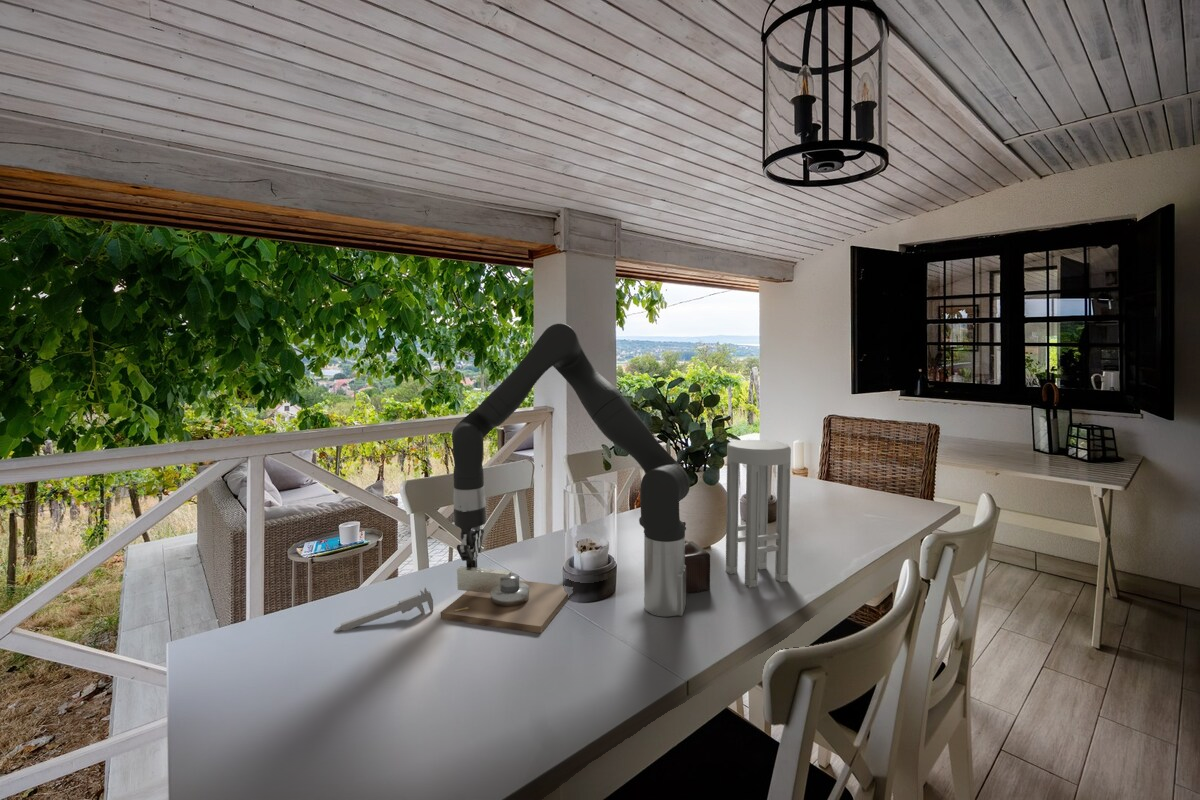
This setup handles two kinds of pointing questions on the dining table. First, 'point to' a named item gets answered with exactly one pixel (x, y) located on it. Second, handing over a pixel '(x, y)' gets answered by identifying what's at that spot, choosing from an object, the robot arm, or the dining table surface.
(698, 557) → the dark brown wooden box
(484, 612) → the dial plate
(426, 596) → the caliper
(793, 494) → the dining table surface
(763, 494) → the stool
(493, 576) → the beige bar and knob
